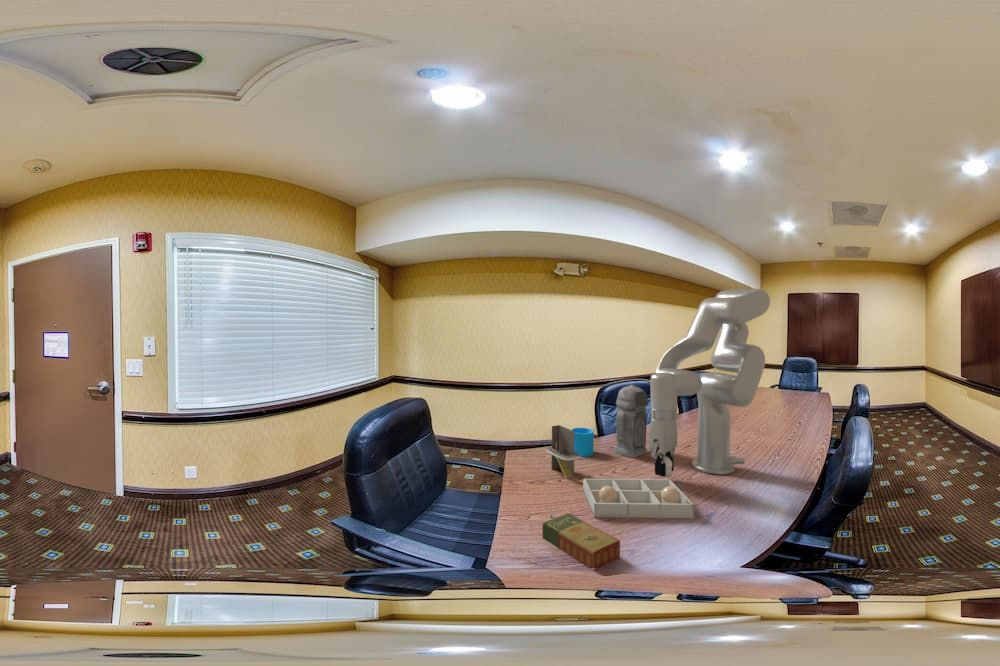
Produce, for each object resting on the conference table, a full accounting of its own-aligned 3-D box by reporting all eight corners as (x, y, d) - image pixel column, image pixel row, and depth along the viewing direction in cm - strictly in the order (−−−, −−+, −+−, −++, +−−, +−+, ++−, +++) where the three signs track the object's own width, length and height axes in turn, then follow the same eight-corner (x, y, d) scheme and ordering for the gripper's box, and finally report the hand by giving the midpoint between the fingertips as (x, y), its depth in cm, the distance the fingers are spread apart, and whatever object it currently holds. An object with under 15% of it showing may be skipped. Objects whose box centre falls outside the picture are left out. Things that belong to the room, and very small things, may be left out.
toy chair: (557, 494, 129) (557, 443, 129) (516, 466, 152) (516, 423, 151) (612, 482, 138) (612, 435, 137) (565, 458, 160) (566, 417, 160)
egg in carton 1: (614, 503, 121) (614, 482, 121) (618, 511, 116) (619, 489, 116) (597, 503, 121) (597, 482, 121) (600, 511, 116) (601, 489, 116)
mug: (582, 448, 171) (582, 426, 170) (598, 453, 164) (598, 431, 164) (558, 453, 164) (558, 431, 164) (573, 460, 158) (573, 436, 157)
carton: (592, 572, 91) (592, 551, 91) (541, 539, 105) (541, 520, 104) (620, 559, 96) (620, 539, 96) (568, 528, 109) (568, 511, 109)
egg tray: (669, 491, 131) (669, 479, 131) (693, 518, 114) (694, 504, 114) (582, 490, 131) (583, 478, 131) (594, 517, 114) (594, 503, 114)
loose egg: (669, 471, 141) (669, 453, 140) (674, 477, 136) (674, 458, 136) (654, 472, 141) (654, 454, 140) (659, 478, 136) (659, 459, 136)
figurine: (652, 451, 167) (653, 384, 165) (629, 459, 158) (630, 388, 156) (629, 445, 174) (630, 380, 173) (606, 452, 165) (607, 384, 164)
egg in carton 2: (675, 504, 121) (676, 483, 120) (682, 512, 116) (682, 490, 116) (658, 504, 121) (658, 483, 121) (664, 512, 116) (664, 490, 116)
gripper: (664, 406, 146) (665, 462, 147) (638, 417, 134) (639, 478, 135) (688, 410, 140) (688, 467, 142) (662, 422, 128) (663, 484, 130)
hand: (664, 472), depth 138 cm, fingers closed on loose egg, 4 cm apart
